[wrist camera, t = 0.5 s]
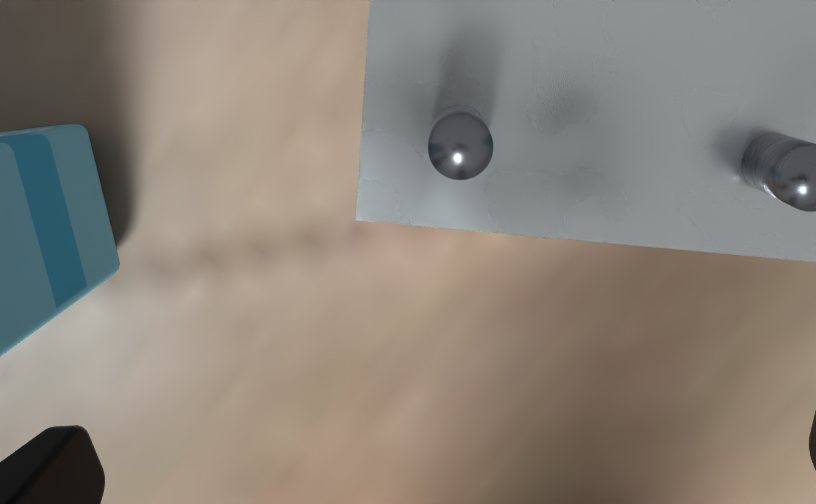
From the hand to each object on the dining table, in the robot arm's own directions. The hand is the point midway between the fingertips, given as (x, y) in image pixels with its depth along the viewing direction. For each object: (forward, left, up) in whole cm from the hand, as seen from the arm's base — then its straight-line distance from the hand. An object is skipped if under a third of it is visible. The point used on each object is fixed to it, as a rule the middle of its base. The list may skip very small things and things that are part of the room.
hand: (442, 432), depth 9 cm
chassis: (+4, -7, -14) cm, 16 cm away
